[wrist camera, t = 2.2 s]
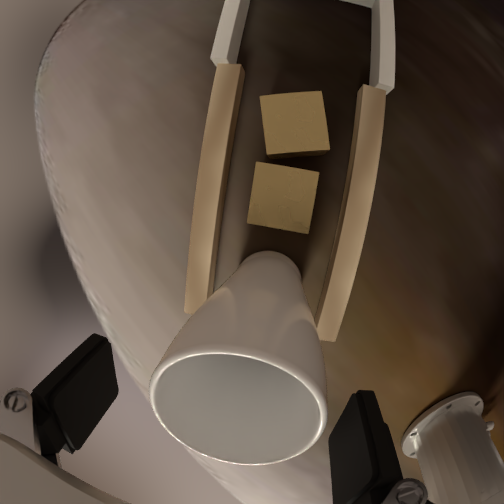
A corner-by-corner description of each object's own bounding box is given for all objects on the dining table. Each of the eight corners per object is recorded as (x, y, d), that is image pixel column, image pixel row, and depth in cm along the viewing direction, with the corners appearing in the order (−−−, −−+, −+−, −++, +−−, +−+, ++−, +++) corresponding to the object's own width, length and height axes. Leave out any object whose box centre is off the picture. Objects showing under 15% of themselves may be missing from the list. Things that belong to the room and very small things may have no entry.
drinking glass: (232, 317, 24) (171, 456, 10) (224, 242, 23) (122, 337, 8) (310, 315, 23) (322, 467, 9) (308, 237, 22) (338, 342, 7)
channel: (378, 97, 18) (386, 90, 16) (332, 329, 23) (334, 341, 21) (223, 72, 19) (217, 63, 17) (192, 302, 24) (184, 312, 23)
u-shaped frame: (383, 3, 15) (391, -13, 12) (382, 98, 18) (394, 87, 15) (242, -18, 16) (236, -36, 13) (220, 72, 19) (210, 58, 16)
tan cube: (316, 106, 19) (321, 90, 15) (323, 155, 20) (330, 149, 16) (265, 110, 20) (259, 96, 16) (271, 159, 21) (266, 154, 17)
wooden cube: (313, 174, 21) (319, 172, 17) (305, 224, 22) (308, 234, 18) (262, 165, 21) (256, 161, 17) (254, 215, 22) (246, 223, 18)
